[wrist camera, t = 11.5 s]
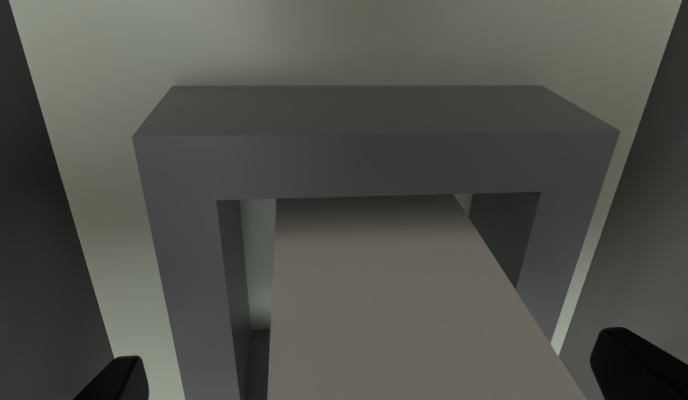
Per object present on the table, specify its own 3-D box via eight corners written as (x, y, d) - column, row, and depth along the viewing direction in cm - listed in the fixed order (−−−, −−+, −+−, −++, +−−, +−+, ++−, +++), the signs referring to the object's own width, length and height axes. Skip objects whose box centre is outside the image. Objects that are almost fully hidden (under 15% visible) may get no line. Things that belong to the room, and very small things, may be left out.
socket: (144, 396, 16) (103, 528, 13) (21, -67, 10) (-144, -71, 6) (528, 370, 18) (591, 482, 14) (658, -48, 11) (844, -41, 7)
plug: (283, 299, 13) (276, 694, 6) (277, 172, 11) (260, 539, 4) (420, 293, 14) (556, 657, 7) (438, 170, 12) (652, 501, 5)
